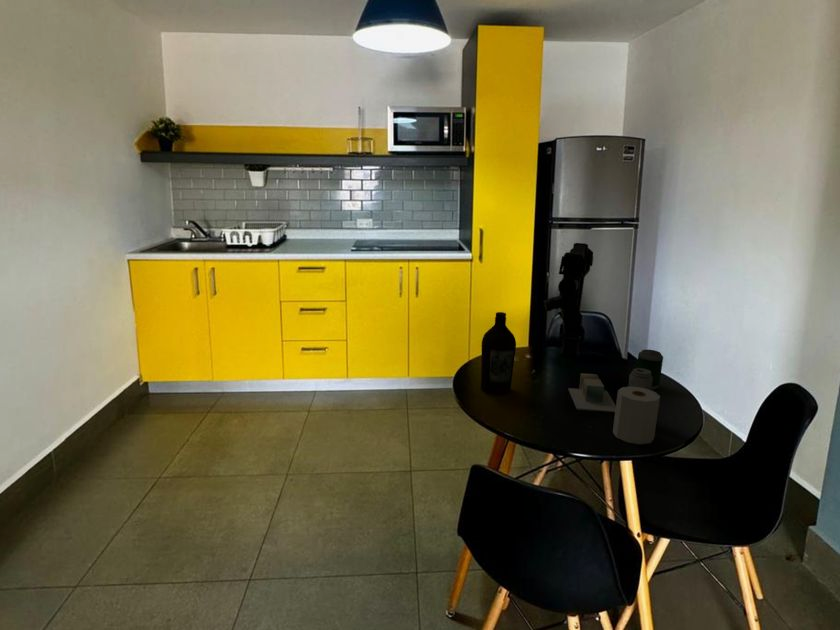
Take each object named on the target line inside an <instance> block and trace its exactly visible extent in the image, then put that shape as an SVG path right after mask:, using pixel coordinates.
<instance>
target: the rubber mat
mask: <svg viewBox="0 0 840 630" xmlns="http://www.w3.org/2000/svg"><path fill="white" fill-rule="evenodd" d="M567 390H568V392H569V394H570V396H571V399H572V401H573V404H574V406H575V409H576V410H580V411H592V412H593V411H595V412H606V413H607V412H608V413H611V412H612V413H615V410H616V404H615V402H614V400H613V398H612V396H611V395H610V394H609V392H608V391H607V390H604V393H603V402H588V401H585V399H584V397H583V395H582V393H581V391H580V389H579V388H570V387H568V389H567Z"/></svg>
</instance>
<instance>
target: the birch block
mask: <svg viewBox="0 0 840 630" xmlns="http://www.w3.org/2000/svg"><path fill="white" fill-rule="evenodd" d="M578 387H579V388H578V389H580V391H581V393H582V395H583V397H584V399H585V401H588V402H603V393H604V391H605V386H604V384H603V382H602V381H601V379H600V378H599V376H598V374H595V373H582V372H581V373H580V377H579V385H578Z"/></svg>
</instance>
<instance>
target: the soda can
mask: <svg viewBox="0 0 840 630" xmlns="http://www.w3.org/2000/svg"><path fill="white" fill-rule="evenodd" d="M663 363H664V356H663V354H662V352H661V351H658V350H654V349H642V350H641V351H640V352H638V356H637V362H636V368H644V369H647V370H650V371H651V375H652V377H653V381H652V388H651V391H655V390H656V389H658V388H659V387H660V383H661V382H660V381H661V374H662V369H663V368H662V367H663ZM654 389H655V390H654Z"/></svg>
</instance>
